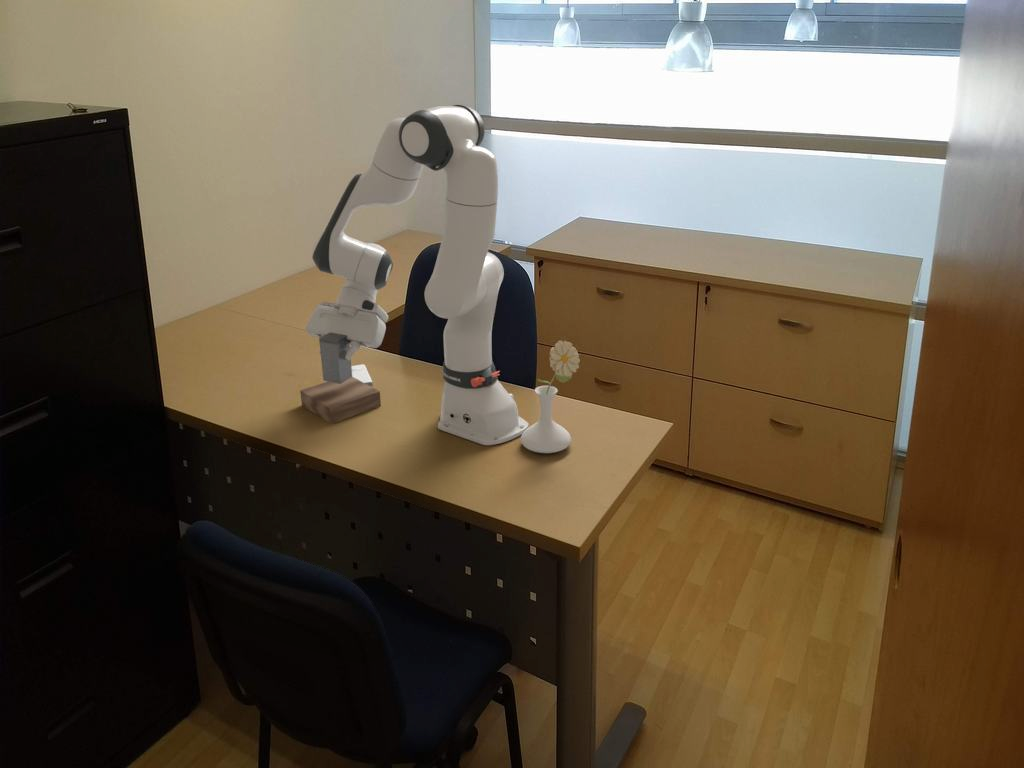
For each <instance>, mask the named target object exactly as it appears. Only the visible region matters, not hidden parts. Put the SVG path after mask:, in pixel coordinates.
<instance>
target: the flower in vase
mask: <svg viewBox="0 0 1024 768" xmlns="http://www.w3.org/2000/svg"><path fill="white" fill-rule="evenodd" d="M579 357H580V354H579V353H578V350H577V348H576V347H574V346H573V343H571V341H570V342H569V341H567V340H564V341H562V340H558V341H557V342H556V343H555V344H554V346H552V347H551V348H550V352H549V357H548V358H549V363H550V364H549V366H550V368H552V370H553V372H554V375H553V377H552V378H551V381H548V380H542V379H540V378H537V382H540V383H544V384H548V385H541V386H537V387H535V388H534V392H535V394H536V395H537V396H538V398H539V402H540V417H539V420H538V421H537V422H535V423H533V424H532V425H529V428H527V429H526V430H525V431H524V432H523V433H522V434H521V435H520V442H521V444H522V445H523V447H524V448H526V449H527V450H529V451H531V452H534V453H540V454H552V453H557V452H558V453H559V452H561V451H564V450H565V449H567V448H568V446H570V444H571V442H572V437H571V434H570V432H568V430H566V429H565V428H564V427H563V426H561V425H560V424H558V423H556V421H554V420H553V418H552V404H553V401H554V398H555V395H557V393H558V391H559V390H558V388H557V387H555V386H551V385H552V383H553V382H554V380H555V378H556V380H557V381H558V382H560V383H566V382H569V381H570V380H571V379H572V378H573V376H572V375H573V373H576V372H577V369H579V367H580V365H579V363H580V362H581V360H580V358H579Z"/></svg>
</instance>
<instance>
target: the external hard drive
mask: <svg viewBox="0 0 1024 768" xmlns="http://www.w3.org/2000/svg"><path fill="white" fill-rule="evenodd" d="M351 367H352V377H354V378H356V379H358V380H359V381H361V382H363V383H365V384H367V385H369V386H371V387H373V386H374V382H373V380H372V377H371V375H370V374H369V372H368V369H367V367H366V364H363V363H362V364H357V365H356V364H355V365H351Z"/></svg>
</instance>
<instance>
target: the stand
mask: <svg viewBox="0 0 1024 768" xmlns="http://www.w3.org/2000/svg"><path fill="white" fill-rule="evenodd" d="M299 391H300V400H301V406H303V407H304V408H306V409H308V410H309V411H310V412H313V414H315V415H316V416H319V417H320V418H322V419H323V420H325V419H326V420H325V421H326V422H328V421H329V422H328V423H330V424H332V423H333V424H335V423H339V422H341V421H343V419H344V420H347V419H349V418H351V417H355V416H358V415H359V414H360V415H361V414H363V413H366V412H368V411H371V410H375V409H376V408H379V407H381V406H382V401H381V391H380V390H378V389H376V388H374V387H373V386H369V385H367V384H365V383H363V382H361V381H359V380H358V379H356V378H354V377H350V378H349V379H347V380H346V381H344V382H343V383H341V384H338V383H333V382H328V381H324V382H322V383H318V384H317V385H312V386H310V387H308V388H304V389H301V390H299ZM357 414H358V415H357ZM354 415H355V416H354ZM348 417H349V418H348ZM346 418H347V419H346ZM340 420H341V421H340Z"/></svg>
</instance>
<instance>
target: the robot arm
mask: <svg viewBox="0 0 1024 768" xmlns="http://www.w3.org/2000/svg"><path fill="white" fill-rule="evenodd" d="M484 137H485V124H484V121H483V119H482V116H481V115H480V113H479V112H477V111H476V110H475V109H474V108H472V107H470V106H466V105H463V104H455V105H454V104H453V105H446V106H444V105H438V106H433V107H430V108H426V109H420V110H416V111H414V112H412V113H411V114H409V115H408V116H406V117H397V118H396V117H395V118H394V119H392V120H390V122H389V123H387V125H386V128H385V129H384V131H383V133H382V135H381V137H380V139H379V141H378V144H377V147H376V149H375V152H374V155H373V159H372V162H371V164H370V166H369V167H368V168H367V170H366V171H364V172H363V173H356V174H355V175H354V176H353V177H352V178H351V180H350V181H349V183H348V184H347V187H346V188H345V190H344V191H343V194H342V196H341V197H340V199H339V201H338V203H337V205H336V207H335V209H334V211H333V213H332V215H331V217H330V218H329V221H328V223H327V225H326V227H325V229H324V231H323V232H322V234H321V235H320V236H319V237H318V238H317V240H316V242H315V245H314V247H313V248H312V249H313V250H312V257H311V259H312V261H313V263H314V264H315V266H316V268H317V269H318V270H319V272H323V273H327V274H330V275H335V276H337V277H340V278H343V279H346V281H345V283H344V284H343V286H342V287H341V289H340V292H339V294H338V297H337V299H336V301H335V302H329V301H323V302H321V303H318V304H317V305H316V306H315V309H314V311H313V312H312V314H311V316H310V317H309V319H308V320H307V323H306V326H305V331H306V333H308V334H309V335H310V336H312V337H313V338H318V339H319V338H321V337H323V336H324V335H326V334H328V333H330V332H331V333H337V334H342V335H347V339H348V340H349V344H350V348H349V349H348V350H347V351H344V352H343V355H342V358H343V359H344V360H348V361H350V359H351V360H352V357H353V355H354V354H355V353H357V352H358V351H359V349H360V347H361V346H362V347H367V348H372V349H373V348H374V349H377V348H379V347H380V346H381V345H382V342H383V340H384V337H385V333H386V330H387V326H386V325H387V324H386V323H387V322H388V320H389V315H388V314H387V312H386V311H385V310H384V309H383V308H382V307H381V306H380V305H379V304H377V302H376V301H377V294H378V292H379V290H382V289H383V288H384V287H386V286H387V282H388V280H389V277H390V275H391V272H392V270H393V268H394V267H393V266H394V264H393V260H392V258H391V256H390V254H389V253H388V251H387V250H386V248H385V247H383V246H381V245H380V244H377V243H373V242H367V243H366V242H363V241H362V240H360V239H359V240H358V239H356V238H354V237H351V236H349V235H347V234H346V233H345V229H346V228H347V225H348V223H349V221H351V220H350V219H351V217H352V215H353V213H354V212H355V210H357V209H358V208H359V209H360V208H362V207H363V208H364V207H374V206H375V207H393V206H398V205H400V204H403V203H406V202H407V201H408V200H409V199H410V198H412V197H413V195H414V193H415V191H416V189H417V187H418V184H419V181H420V179H421V177H422V173H423V170H424V168H425V167H424V166H426V167H427V168H429V169H431V171H434V172H437V171H440V170H443V171H444V174H445V177H446V193H445V207H444V209H445V210H444V221H443V222H444V223H443V233H442V237H441V243H440V245H439V250H438V253H437V256H436V257H437V258H436V261H435V264H434V268H433V272H432V274H431V276H430V279H429V280H428V282H427V283H426V286H425V288H424V301H425V304H426V306H427V307H428V309H429V310H430V311H431V313H433V314H434V315H435V316H437V317H439V318H442V319H447V322H446V324H445V327H444V329H443V335H442V337H443V356H444V361H443V363H442V377H443V381H444V386H443V390H442V394H441V407H440V417H439V420H438V423H437V429H438V430H440V431H443V432H446V433H449V434H451V435H454V436H457V437H460V438H463V439H466V440H468V441H472V442H473V443H477V444H479V445H483V446H493V445H498V444H503V443H505V442H509V441H510V440H514V439H516V438H518V437H521V436H522V433H523V432H524V431H525V430H526V429H527V428H529V427H530V425H529V422H528V421H526V420H525V418H522V417H521V416H519V411H518V406H517V403H516V401H515V397H514V394H512V393H509V392H508V391H507V390H506V389H505V387H504V386H503V385H502V383H501V382H500V381H499V379H498V376H500V372H501V370H498V371H497V370H496V366H495V363H494V361H493V357H492V356H493V355H492V353H493V351H492V350H493V349H492V348H493V347H492V331H493V325H494V324H493V323H494V317H495V313H496V308H497V307H496V306H497V301H498V295H499V291H500V287H501V284H502V282H503V280H504V275H505V273H504V272H505V271H504V270H505V269H504V267H503V264H502V262H501V260H500V259H499V258H498V256H496V255H495V254H493V253H491V252H490V251H489V249H490V246H491V245H492V242H493V241H494V238H495V234H496V233H495V232H496V231H495V230H496V221H497V209H498V196H499V192H498V191H499V179H498V178H499V177H498V166H497V160H496V156H495V155H494V154H493V152H491V151H490V150H489V149H487V148H485V147H483V146H480V145H481V144H482V142H483V141H484ZM319 355H321V352H320V351H319Z"/></svg>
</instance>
